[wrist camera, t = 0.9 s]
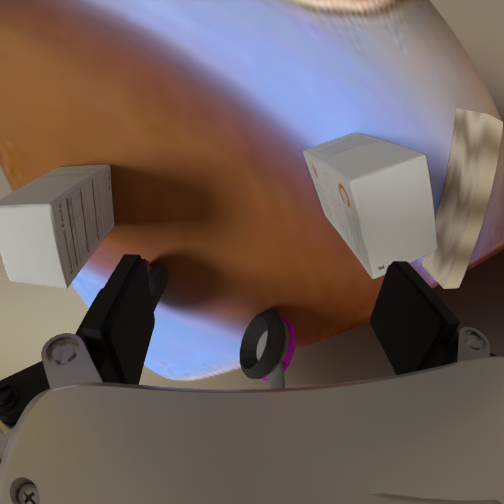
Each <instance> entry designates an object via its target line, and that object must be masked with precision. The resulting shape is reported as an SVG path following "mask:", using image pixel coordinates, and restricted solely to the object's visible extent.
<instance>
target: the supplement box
mask: <svg viewBox="0 0 504 504" xmlns="http://www.w3.org/2000/svg"><path fill="white" fill-rule="evenodd" d="M114 226H115V224H114V212H113V201H112V186H111V169H110V165H109V164H106V165H82V166H68V167H58V168H56V169H54V170H52V171H50V172H48V173H46V174H45V175H43V176H41V177H39V178H37V179H35V180H33V181H32V182H30V183H28V184H26V185H24V186H23V187H21V188H19V189H17V190H16V191H14V192H12V193H11V194H9V195H7V196H6V197H4V198H3V199H1V200H0V253H1V256H2V260H3V263H4V266H5V269H6V272H7V275H8V278H9V280H10V281H12V282H20V283H27V284H34V285H42V286H50V287H59V288H68V287H69V285H70V284H71V282H72V281H73V280H74V278H75V277H76V275H77V274H78V273H79V271H80V270H81V269H82V267H83V266H84V264H85V263H86V262H87V260H88V259H89V258H90V256H91V255H92V254H93V253H94V251H95V250H96V249H97V247H98V246H99V245H100V243H101V242H102V241H103V240H104V238H105V237H106V236H107V235H108V233H109V232H110V231H111V230H112V229H113V227H114Z"/></svg>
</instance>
